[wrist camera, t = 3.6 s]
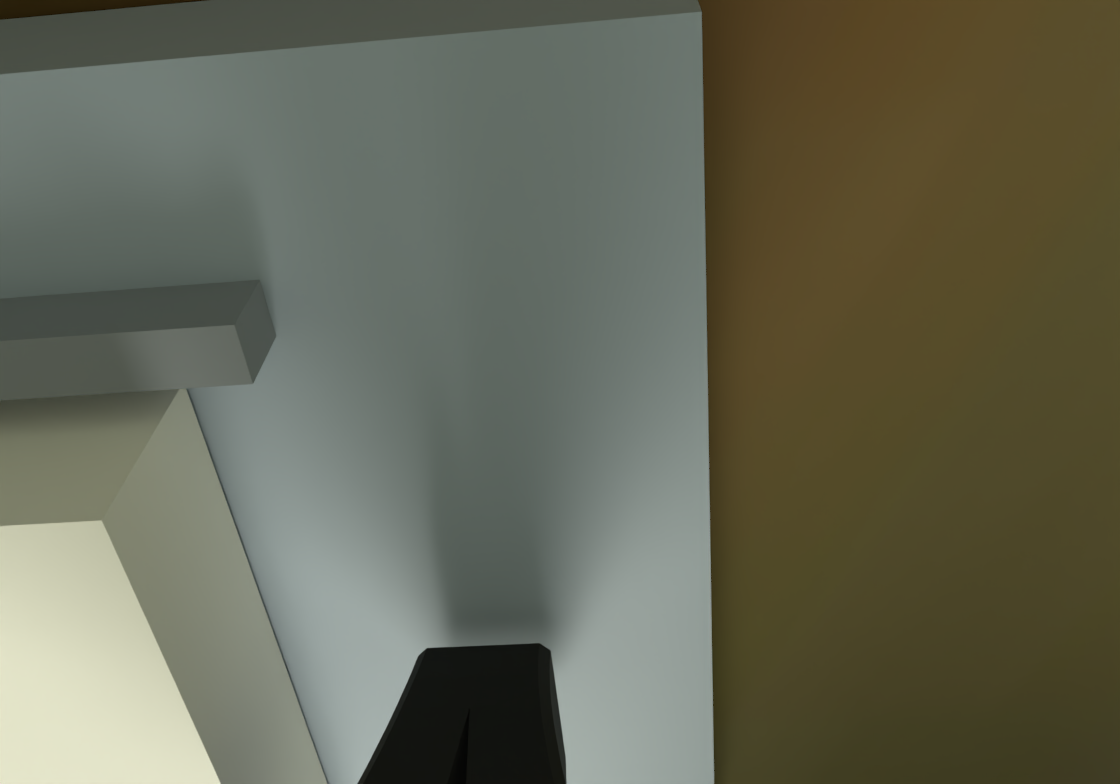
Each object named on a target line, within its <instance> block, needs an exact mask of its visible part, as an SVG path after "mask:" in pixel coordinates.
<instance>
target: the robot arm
mask: <svg viewBox="0 0 1120 784" xmlns="http://www.w3.org/2000/svg"><path fill="white" fill-rule="evenodd" d="M357 784H567V782H566V756H565V749H564V742H563V734H562V727H561V720H560V713H559V706H558V699H557V691H556V684H555V677H554V670H553V663H552V655H551V650H549V649H548V648H546V647H545V646H543V645H542V644H540V643H531V644H508V645H484V646H461V647H438V648H426V649H425V650H424V651H423V652H422V653H421V654H420V655H419V656H418V658H417V660H416V662H415V665H414V667H413V670H412V672H411V675H410V677H409V679H408V682H407V684H406V686H405V688H404V691H403V693H402V695H401V697H400V699H399V702H398V704H397V706H396V708H395V710H394V712H393V715H392V717H391V719H390V721H389V723H388V725H387V727H386V729H385V731H384V733H383V735H382V737H381V739H380V741H379V743H378V745H377V747H376V749H375V751H374V753H373V755H372V757H371V759H370V761H369V763H368V765H367V767H366V769H365V771H364V772H363V774H362V776H361V778H360V780H359V782H358V783H357Z"/></svg>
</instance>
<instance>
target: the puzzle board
mask: <svg viewBox="0 0 1120 784" xmlns="http://www.w3.org/2000/svg"><path fill="white" fill-rule="evenodd" d="M171 389H186V390H187V393H188V395H189V398H190V401H191V404H192V406H193V409H194V412H195V415H196V418H197V420H198V423H199V426H200V429H201V432H202V434H203V437H204V440H205V443H206V446H207V448H208V451H209V454H210V457H211V460H212V462H213V465H214V468H215V471H216V474H217V476H218V479H219V482H220V485H221V488H222V490H223V493H224V496H225V499H226V502H227V504H228V507H229V510H230V513H231V516H232V518H233V521H234V524H235V527H236V529H237V532H238V535H239V538H240V541H241V543H242V546H243V549H244V552H245V555H246V557H247V560H248V563H249V566H250V569H251V571H252V574H253V577H254V580H255V583H256V585H257V588H258V591H259V594H260V597H261V599H262V602H263V605H264V608H265V611H266V613H267V616H268V619H269V622H270V625H271V627H272V630H273V633H274V636H275V639H276V641H277V644H278V647H279V650H280V652H281V655H282V658H283V661H284V664H285V666H286V669H287V672H288V675H289V678H290V680H291V683H292V686H293V689H294V692H295V694H296V697H297V700H298V703H299V706H300V708H301V711H302V714H303V717H304V720H305V722H306V725H307V728H308V731H309V734H310V736H311V739H312V742H313V745H314V748H315V750H316V753H317V756H318V759H319V761H320V764H321V767H322V770H323V773H324V775H325V778H326V781H327V784H357V783H358V782H359V780H360V778H361V776H362V774H363V772H364V771H365V769H366V767H367V765H368V763H369V761H370V759H371V757H372V755H373V753H374V751H375V749H376V747H377V745H378V743H379V741H380V739H381V737H382V735H383V733H384V731H385V729H386V727H387V725H388V723H389V721H390V719H391V717H392V715H393V712H394V710H395V708H396V706H397V704H398V702H399V699H400V697H401V695H402V693H403V691H404V688H405V686H406V684H407V682H408V679H409V677H410V675H411V672H412V670H413V667H414V665H415V662H416V660H417V658H418V656H419V655H420V654H421V653H422V652H423V651H424V650H425V649H426V648H438V647H461V646H484V645H508V644H531V643H540V644H542V645H543V646H545V647H546V648H548V649H549V650H551V655H552V663H553V670H554V677H555V684H556V691H557V699H558V706H559V713H560V720H561V727H562V734H563V742H564V749H565V756H566V782H567V784H714V743H713V680H712V618H711V556H710V494H709V431H708V369H707V307H706V244H705V182H704V120H703V58H702V11H701V8H700V5H699V2H698V0H207V1H196V2H185V3H174V4H164V5H153V6H142V7H132V8H121V9H110V10H100V11H89V12H78V13H67V14H57V15H46V16H35V17H25V18H14V19H3V20H0V401H1V400H17V399H32V398H47V397H63V396H78V395H94V394H109V393H124V392H140V391H155V390H171Z"/></svg>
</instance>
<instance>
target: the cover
mask: <svg viewBox="0 0 1120 784" xmlns="http://www.w3.org/2000/svg"><path fill="white" fill-rule="evenodd" d="M0 784H327V781H326V778H325V775H324V773H323V770H322V767H321V764H320V761H319V759H318V756H317V753H316V750H315V748H314V745H313V742H312V739H311V736H310V734H309V731H308V728H307V725H306V722H305V720H304V717H303V714H302V711H301V708H300V706H299V703H298V700H297V697H296V694H295V692H294V689H293V686H292V683H291V680H290V678H289V675H288V672H287V669H286V666H285V664H284V661H283V658H282V655H281V652H280V650H279V647H278V644H277V641H276V639H275V636H274V633H273V630H272V627H271V625H270V622H269V619H268V616H267V613H266V611H265V608H264V605H263V602H262V599H261V597H260V594H259V591H258V588H257V585H256V583H255V580H254V577H253V574H252V571H251V569H250V566H249V563H248V560H247V557H246V555H245V552H244V549H243V546H242V543H241V541H240V538H239V535H238V532H237V529H236V527H235V524H234V521H233V518H232V516H231V513H230V510H229V507H228V504H227V502H226V499H225V496H224V493H223V490H222V488H221V485H220V482H219V479H218V476H217V474H216V471H215V468H214V465H213V462H212V460H211V457H210V454H209V451H208V448H207V446H206V443H205V440H204V437H203V434H202V432H201V429H200V426H199V423H198V420H197V418H196V415H195V412H194V409H193V406H192V404H191V401H190V398H189V395H188V393H187V390H186V389H171V390H155V391H140V392H124V393H109V394H94V395H78V396H63V397H47V398H32V399H17V400H1V401H0Z"/></svg>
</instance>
